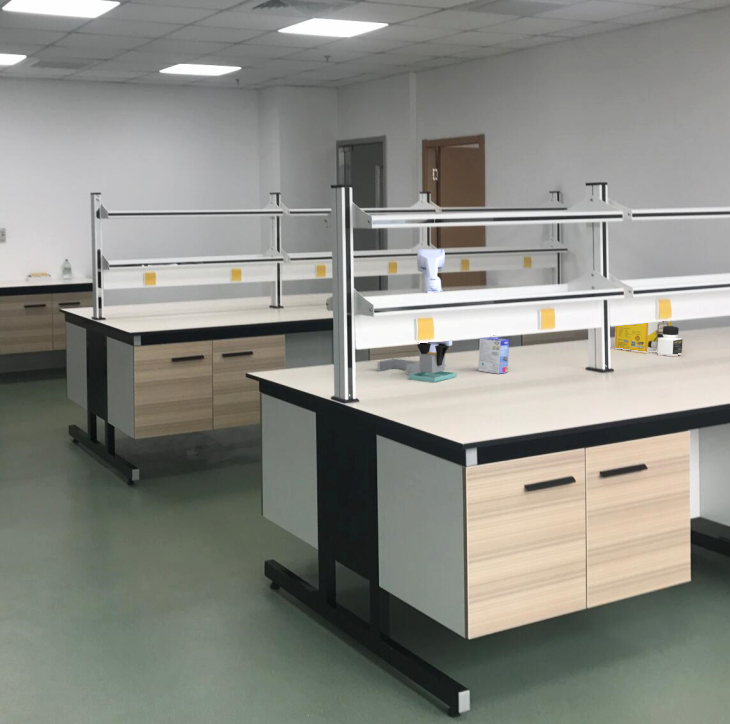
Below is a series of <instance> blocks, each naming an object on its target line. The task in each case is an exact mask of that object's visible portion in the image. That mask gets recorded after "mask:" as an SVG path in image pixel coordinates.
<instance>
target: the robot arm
mask: <svg viewBox="0 0 730 724" xmlns="http://www.w3.org/2000/svg"><path fill="white" fill-rule="evenodd" d="M416 252H417V254H416V255H417V256H416V258H417V259H416V263H417V264H416V265H417V268H416V269H417V271H418V272H420V273H422V275H423V278H424V279H423V280H424V281H423V282H424V283H423V284H424V285H423V286H424V289H423V291H424V292H423V294H424V293H434V292H443V293H444V291H443V288H442V280H441V278H440V277H439V276H438V273H440V272H442V271H443V269H444V267H445V262H446V261H445V260H446V259H445V258H446V257H445V256H446V254H445V249H443V248H438V249H437V248H436V249H435V248H424V249H423V248H418V249H417V251H416ZM416 346H417V348H418V350H419V356H418V357H419V358H418V359H419V362H420V355H421V354H426V353H428V352H436V353H437V366H440V365H442V362H443V358H444V355H445V356H446V353H447V351H448V350H449V347H450V346H451V347H452V346H453V340H452V341H443V342H428V343H420V344H419V343H418V344H417V345H416Z"/></svg>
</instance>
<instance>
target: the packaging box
mask: <svg viewBox="0 0 730 724" xmlns="http://www.w3.org/2000/svg"><path fill="white" fill-rule="evenodd" d="M614 326H615V325H614ZM665 326H672V320H671V321H662V322H653V323H644V324H635V325H624V326H615V327H614V345H613V346H614V348H623V349H630V350H638V351H646V352H648V351H656V350H657V349H658V338H662V337H663V327H665ZM614 348H613V349H614Z"/></svg>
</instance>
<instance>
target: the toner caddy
mask: <svg viewBox="0 0 730 724" xmlns="http://www.w3.org/2000/svg"><path fill="white" fill-rule="evenodd" d="M445 363H446V354H445V355H444V358H443V362H442V365H440V366H437V353H436V352H428V353H426V354H421V355H420V372H425V373H436V372H440V371H444V372H445V371H446V370H445V368H446V364H445Z"/></svg>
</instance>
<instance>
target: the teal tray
mask: <svg viewBox="0 0 730 724" xmlns="http://www.w3.org/2000/svg"><path fill="white" fill-rule="evenodd" d="M454 378H457V372H450V371H445V370H444V371H440V372H436V373H425V372H419V373H415V374H411V375H408V380H414V381H419V382H426V383H428V382H429V383H438V382H442V381H446V380H450V379H454Z"/></svg>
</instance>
